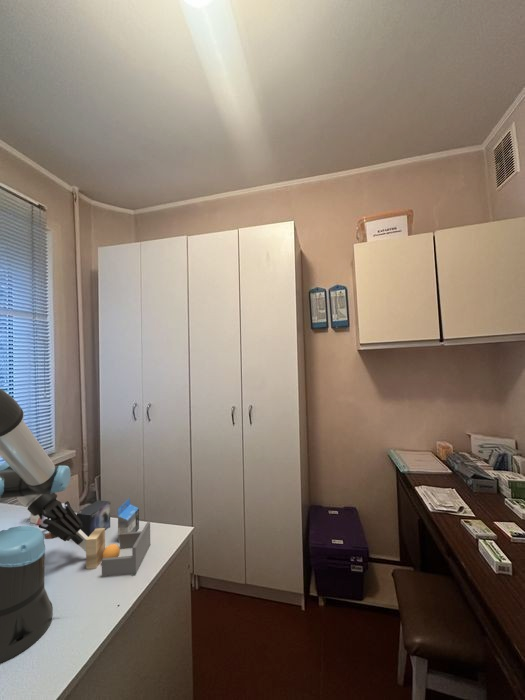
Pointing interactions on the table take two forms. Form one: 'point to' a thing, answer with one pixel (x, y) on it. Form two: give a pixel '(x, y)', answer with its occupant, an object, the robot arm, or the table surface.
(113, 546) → the ball
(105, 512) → the small box
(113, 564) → the pitch
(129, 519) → the label tape cartridge
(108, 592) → the table surface
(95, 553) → the wooden block
